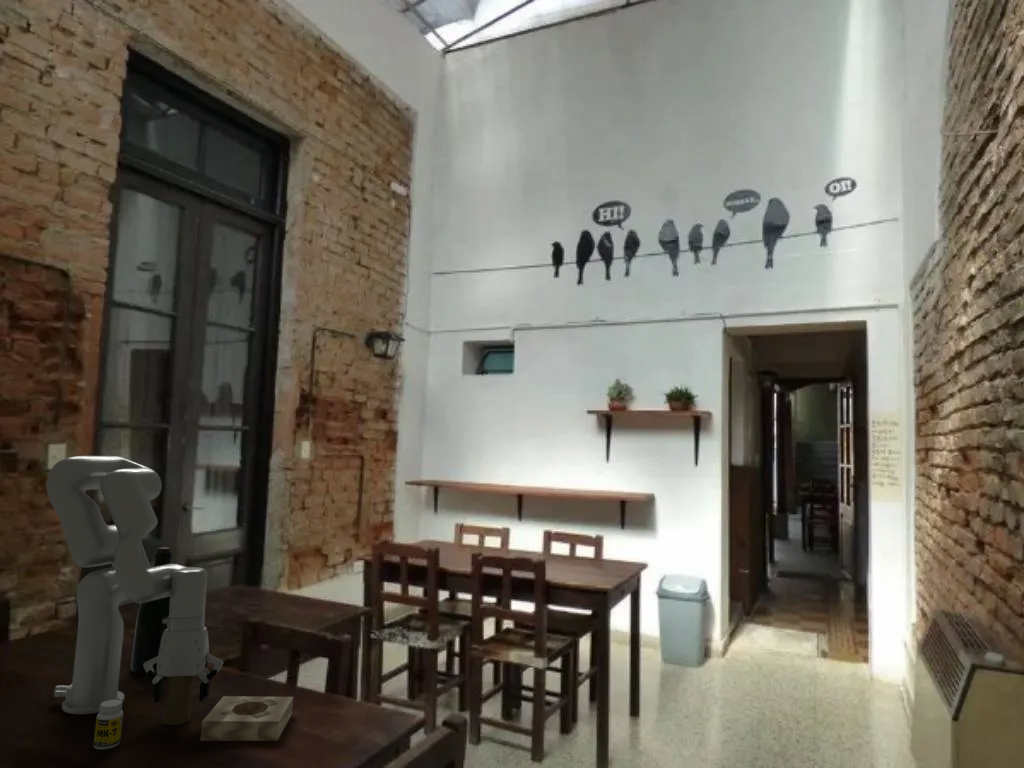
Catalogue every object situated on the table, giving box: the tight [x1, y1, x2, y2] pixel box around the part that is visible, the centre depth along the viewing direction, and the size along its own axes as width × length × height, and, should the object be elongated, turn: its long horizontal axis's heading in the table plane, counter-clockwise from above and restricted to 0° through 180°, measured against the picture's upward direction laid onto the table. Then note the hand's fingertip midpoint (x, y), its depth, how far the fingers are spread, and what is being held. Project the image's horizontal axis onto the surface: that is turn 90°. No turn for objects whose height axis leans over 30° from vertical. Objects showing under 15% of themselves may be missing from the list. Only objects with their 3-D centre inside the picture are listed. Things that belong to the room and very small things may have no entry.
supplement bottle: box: [93, 700, 124, 751], centre depth 137 cm, size 5×5×8 cm
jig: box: [199, 695, 294, 742], centre depth 148 cm, size 16×14×4 cm
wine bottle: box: [130, 546, 173, 676], centre depth 183 cm, size 10×10×33 cm
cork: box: [161, 676, 194, 726], centre depth 151 cm, size 6×6×11 cm
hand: (181, 699), depth 151 cm, fingers open, 9 cm apart
